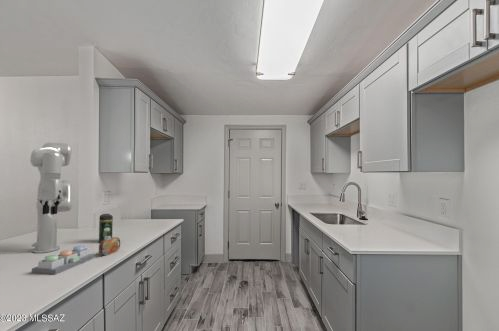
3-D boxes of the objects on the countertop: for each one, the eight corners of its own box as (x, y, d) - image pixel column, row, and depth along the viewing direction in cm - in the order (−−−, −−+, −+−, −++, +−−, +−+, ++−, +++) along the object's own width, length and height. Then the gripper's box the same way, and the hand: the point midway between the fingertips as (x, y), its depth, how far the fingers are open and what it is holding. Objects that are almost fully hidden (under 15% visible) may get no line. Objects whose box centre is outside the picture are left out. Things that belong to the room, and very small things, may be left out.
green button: (41, 264, 123) (42, 257, 124) (51, 261, 128) (51, 254, 128) (51, 265, 123) (51, 258, 123) (60, 261, 128) (60, 255, 128)
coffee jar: (98, 240, 184) (98, 213, 185) (111, 239, 188) (111, 212, 189) (99, 243, 176) (100, 215, 177) (112, 242, 180) (113, 214, 181)
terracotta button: (57, 258, 132) (57, 252, 132) (65, 256, 137) (65, 249, 137) (66, 259, 131) (66, 253, 131) (74, 256, 136) (74, 250, 136)
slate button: (70, 254, 140) (71, 248, 140) (78, 251, 145) (78, 245, 145) (79, 254, 140) (79, 248, 140) (86, 251, 145) (86, 246, 145)
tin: (102, 257, 147) (102, 241, 147) (97, 257, 148) (97, 241, 148) (120, 250, 162) (121, 235, 162) (116, 249, 162) (116, 235, 163)
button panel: (55, 274, 121) (56, 263, 121) (31, 273, 122) (32, 261, 122) (94, 257, 145) (94, 248, 146) (74, 256, 147) (74, 247, 147)
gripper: (29, 176, 132) (27, 214, 131) (60, 177, 130) (58, 215, 129) (43, 176, 140) (41, 212, 139) (72, 177, 137) (71, 213, 137)
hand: (49, 213), depth 134 cm, fingers open, 3 cm apart
